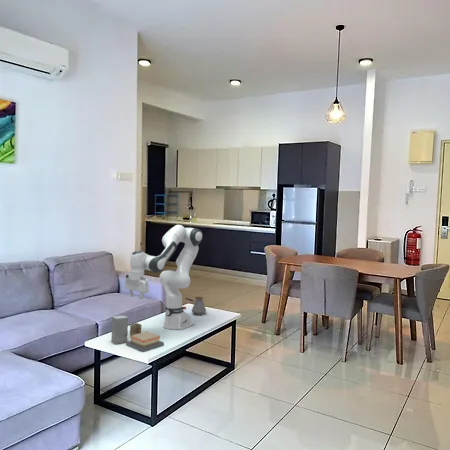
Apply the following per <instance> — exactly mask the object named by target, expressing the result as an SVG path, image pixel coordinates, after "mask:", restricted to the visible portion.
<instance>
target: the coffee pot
mask: <svg viewBox="0 0 450 450" xmlns="http://www.w3.org/2000/svg"><path fill="white" fill-rule="evenodd" d="M194 299H195V300H193V299H191V298H188V297H185V298H184V299H183V300H184V301H186V302H187V301H189V302H194V304H193V306H192V308H191V313H193V315H195V316H201V315H202V314H203V315H204V314H205V313H206V312H207V309H206V307H205V304H204V302H203V301H204V300H203V299H204V297H203V296H195V297H194Z"/></svg>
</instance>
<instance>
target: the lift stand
mask: <svg viewBox="0 0 450 450" xmlns="http://www.w3.org/2000/svg"><path fill="white" fill-rule="evenodd" d="M129 338H130V340H127V342H125V345H126V347H129V348H132V349H134V350H136V351H138V352H141V353H144V352H147V351H148V352H149V351H151V350H154V349H157V348H160V347H163V346H165V342H164V341H161V340H160V339H161V336H160V335H159V334H155V333H152V332H149V331H143V332H141V333H139V334H135V335H132V336H130V335H129Z"/></svg>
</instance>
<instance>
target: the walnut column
mask: <svg viewBox="0 0 450 450" xmlns="http://www.w3.org/2000/svg"><path fill="white" fill-rule="evenodd" d="M139 333H142V324H141V323H138V322H136V323H135V322H134V323H131V324H129V337H130V336H132V335H135V334H139Z"/></svg>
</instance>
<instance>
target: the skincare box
mask: <svg viewBox="0 0 450 450" xmlns="http://www.w3.org/2000/svg"><path fill="white" fill-rule="evenodd" d="M128 327H129V316H126V315H115V316H114V315H113V316H112V317H111V338H110V339H111V342H112V343H114V345H119V344H124V343H125V344H126V342H128V334H129V333H128V330H129V329H128Z"/></svg>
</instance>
